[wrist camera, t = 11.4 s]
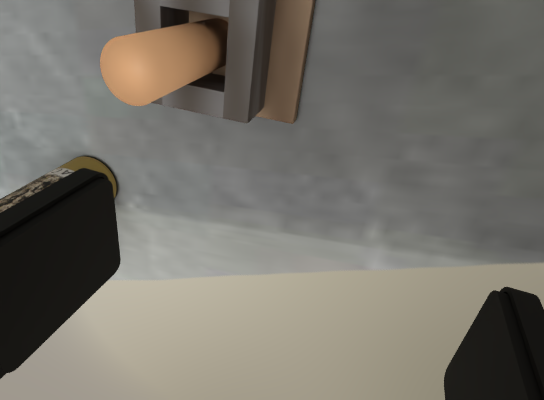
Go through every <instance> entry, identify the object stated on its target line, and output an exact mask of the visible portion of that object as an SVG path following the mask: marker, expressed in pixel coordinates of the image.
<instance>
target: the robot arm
mask: <svg viewBox="0 0 544 400" xmlns="http://www.w3.org/2000/svg"><path fill="white" fill-rule="evenodd" d="M119 265H120V250H119V241H118V231H117V221H116V212H115V202H114V193H113V185H112V183H111V181H109V179H108V177H107V175H106V174H104V173H101V172H98V171H94V170H91V169H87V168H81V169H78V170H77V171H75V172H73V173H71V174H69V175H68V176H66V177H64V178H62V179H60V180H59V181H57V182H55V183H53V184H51V185H50V186H48V187H46V188H44V189H42V190H40V191H39V192H37V193H35V194H33V195H31V196H30V197H28V198H26V199H24V200H22V201H21V202H19V203H17V204H15V205H13V206H12V207H10V208H8V209H6V210H4V211H3V212H1V213H0V379H1V378H2V377H3V376H4V375H5V374H6V373H10V372H12V371H14V370H16V368H18V367H19V366H20V365H21V364H22V363H23V362H24V361H25V360H26V359H27V358H28V357H29V356H30V355H31V354H33V353H34V352H35V351H36V350H37V349H38V348H39V347H40V346H41V345H42V344H43V343H44V342H45V341H46V340H47V339H48V338H49V337H50V336H51V335H52V334H53V333H54V332H55V331H56V330H57V329H58V328H59V327H60V326H61V325H62V324H63V323H64V322H65V321H66V320H67V319H68V318H70V317H71V316H72V315H73V313H75V312H76V311H77V310H78V309H79V308H80V307H81V306H82V305H83V304H84V303H85V302H86V301H87V300H88V299H89V298H90V297H91V296H92V295H93V294H94V293H95V292H96V291H97V290H98V289H99V288H100V287H101V286H102V285H103V284H104V283H105V282H106V281H107V280H109V279H110V278H111V277H112V276H113V275H114V274H115V272H116V271H117V270H118V268H119ZM444 390H445V400H544V309H543V307H542V304H541V302H540V300H539V298H538V297H537V296H536V295H534V294H531V293H527V292H524V291H520V290H517V289H513V288H509V287H504V288H503V289H501V291H500V292H499V291H492V292H491V293H490V294H489V296H488V297H487V299H486V301H485V303H484V304H483V306H482V308H481V310H480V311H479V313H478V315H477V317H476V319H475V320H474V322H473V324H472V325H471V327H470V329H469V330H468V332H467V334H466V336H465V337H464V339H463V341H462V343H461V344H460V346H459V348H458V350H457V352H456V353H455V355H454V357H453V358H452V360H451V362H450V364H449V365H448V367H447V369H446V372H445V377H444Z"/></svg>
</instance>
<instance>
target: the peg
mask: <svg viewBox="0 0 544 400" xmlns="http://www.w3.org/2000/svg"><path fill="white" fill-rule="evenodd" d="M227 38H228V22H227V21H225V20H223V19H219V18H213V19H207V20H202V21H197V22H192V23H186V24H181V25H176V26H171V27H166V28H160V29H155V30H150V31H145V32H139V33H134V34H129V35H124V36H119V37H115V38H113V39H111V40H110V41H109V42H108V43H107V44H106V45H105V46H104V48H103V50H102V53H101V58H100V67H101V72H102V76H103V79H104V81H105V83H106V85H107V86H108V88H109V89H110V91H111V92H112V93H113V94H114V95H115V96H116V97H117V98H118V99H120V100H121V101H123V102H125V103H127V104H129V105H133V106H143V105H147V104H149V103H151V102H153V101H155V100H157V99H159V98H161V97H163V96H165V95H167V94H169V93H171V92H173V91H175V90H177V89H179V88H181V87H183V86H185V85H187V84H189V83H191V82H193V81H195V80H197V79H199V78H201V77H203V76H205V75H207V74H209V73H211V72H213V71H215V70H217V69H219V68H221V67H223V66H225V65H226V55H227Z"/></svg>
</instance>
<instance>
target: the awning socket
mask: <svg viewBox="0 0 544 400" xmlns="http://www.w3.org/2000/svg"><path fill="white" fill-rule="evenodd" d="M315 1H316V0H134V6H135V24H136V33H139V32H145V31H150V30H155V29H160V28H166V27H171V26H176V25H181V24H186V23H192V22H197V21H202V20H207V19H213V18H219V19H223V20H225V21H227V22H228V38H227V55H226V65H225V66H223V67H221V68H219V69H217V70H215V71H213V72H211V73H209V74H207V75H205V76H203V77H201V78H199V79H197V80H195V81H193V82H191V83H189V84H187V85H185V86H183V87H181V88H179V89H177V90H175V91H173V92H171V93H169V94H167V95H165V96H163V97H161V98H159V99H157V100H155V101H153V102H151V103H155V104H160V105H164V106H169V107H173V108H178V109H183V110H187V111H192V112H197V113H201V114H206V115H210V116H215V117H220V118H224V119H229V120H234V121H238V122H243V123H248V122H249V121H250V120H251V119H253V118H254V117H255V116H258V117H263V118H267V119H272V120H277V121H282V122H286V123H291V124H293V123H294V122H295V120H296V118H297V112H298V106H299V99H300V93H301V87H302V81H303V75H304V69H305V62H306V56H307V50H308V44H309V38H310V32H311V25H312V19H313V13H314V7H315Z"/></svg>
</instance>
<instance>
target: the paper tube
mask: <svg viewBox="0 0 544 400" xmlns="http://www.w3.org/2000/svg"><path fill="white" fill-rule="evenodd" d="M81 168H87V169H91V170H94V171H98V172H101V173H104V174H106V175H107V177H108V179H109V181H111V183H112V185H113V193H114V198H115V196H116V190H117V187H116V181H115V179H114V176H113V175H112V173H111V172H110V170H109V169H108V168H107V167H106V166H105V165H104V164H103V163H101V162H100V161H98V160H96V159H94V158H90V157H77V158H75V159H73V160H71V161H69V162H68V163H66V164H64V165H62V166H60V167H58V168H57V169H54V170H52V171H51V172H49V173H47V174H45V175H43V176H42V177H40V178H38V179H36V180H34V181H32V182H31V183H29V184H27V185H25V186H23V187H21V188H20V189H18V190H16V191H14V192H12V193H11V194H9V195H7V196H5V197H3V198H1V199H0V213H1V212H3V211H4V210H6V209H8V208H10V207H12V206H13V205H15V204H17V203H19V202H21V201H22V200H24V199H26V198H28V197H30V196H31V195H33V194H35V193H37V192H39V191H40V190H42V189H44V188H46V187H48V186H50V185H51V184H53V183H55V182H57V181H59V180H60V179H62V178H64V177H66V176H68V175H69V174H71V173H73V172H75V171H77V170H78V169H81Z"/></svg>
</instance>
